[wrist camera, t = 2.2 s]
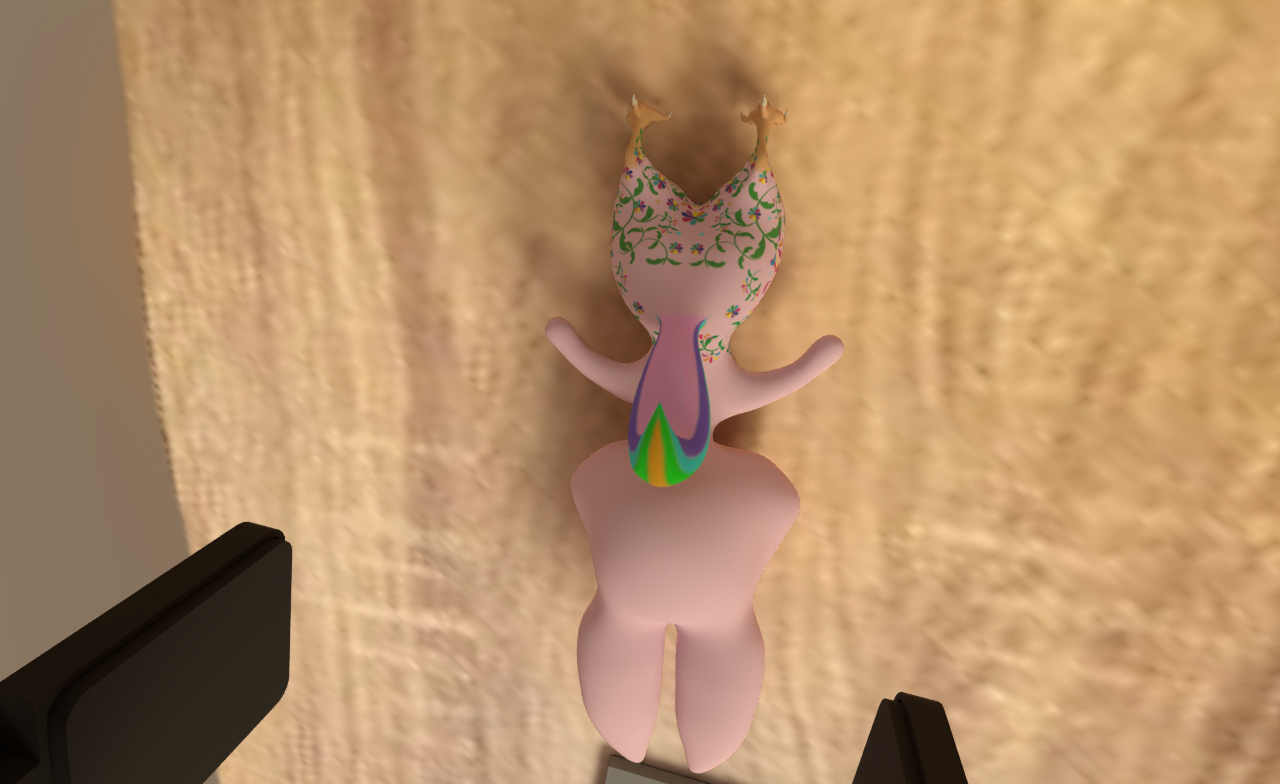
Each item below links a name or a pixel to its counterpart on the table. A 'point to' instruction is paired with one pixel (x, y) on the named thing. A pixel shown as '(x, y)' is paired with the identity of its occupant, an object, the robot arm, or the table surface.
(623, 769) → the mat
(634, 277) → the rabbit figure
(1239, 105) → the table surface
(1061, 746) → the table surface
